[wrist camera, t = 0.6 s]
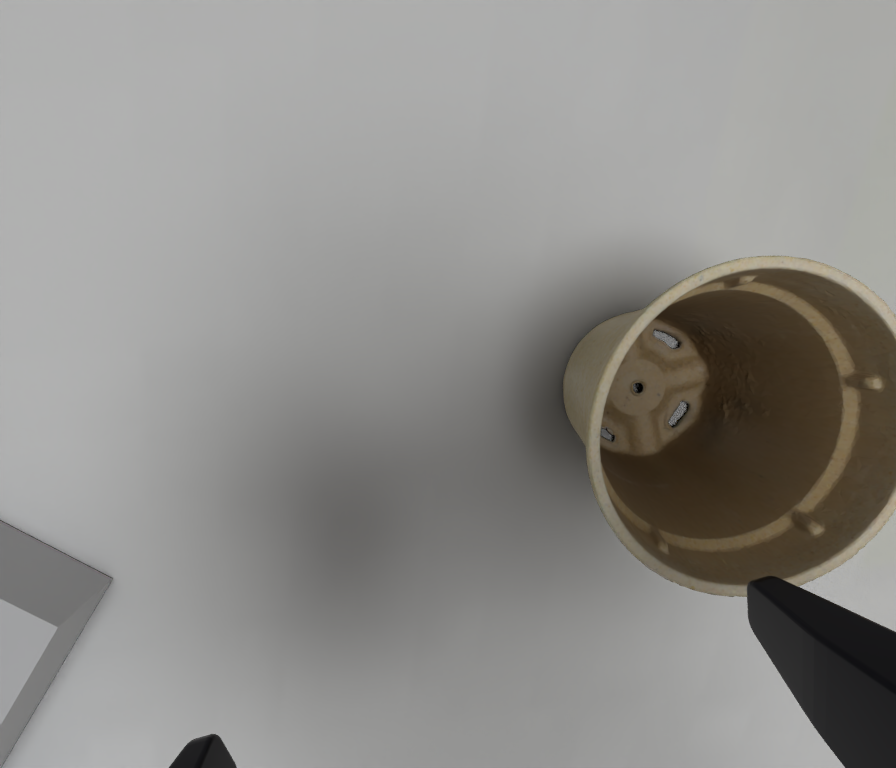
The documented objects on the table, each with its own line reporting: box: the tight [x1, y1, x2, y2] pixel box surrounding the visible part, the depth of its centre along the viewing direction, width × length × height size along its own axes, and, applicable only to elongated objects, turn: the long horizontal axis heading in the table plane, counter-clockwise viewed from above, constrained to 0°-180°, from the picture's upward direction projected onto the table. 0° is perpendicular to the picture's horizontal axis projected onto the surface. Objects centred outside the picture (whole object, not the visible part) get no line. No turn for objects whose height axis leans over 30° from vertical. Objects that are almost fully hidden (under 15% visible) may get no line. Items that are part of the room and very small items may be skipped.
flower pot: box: [563, 256, 896, 597], centre depth 19 cm, size 9×9×9 cm
